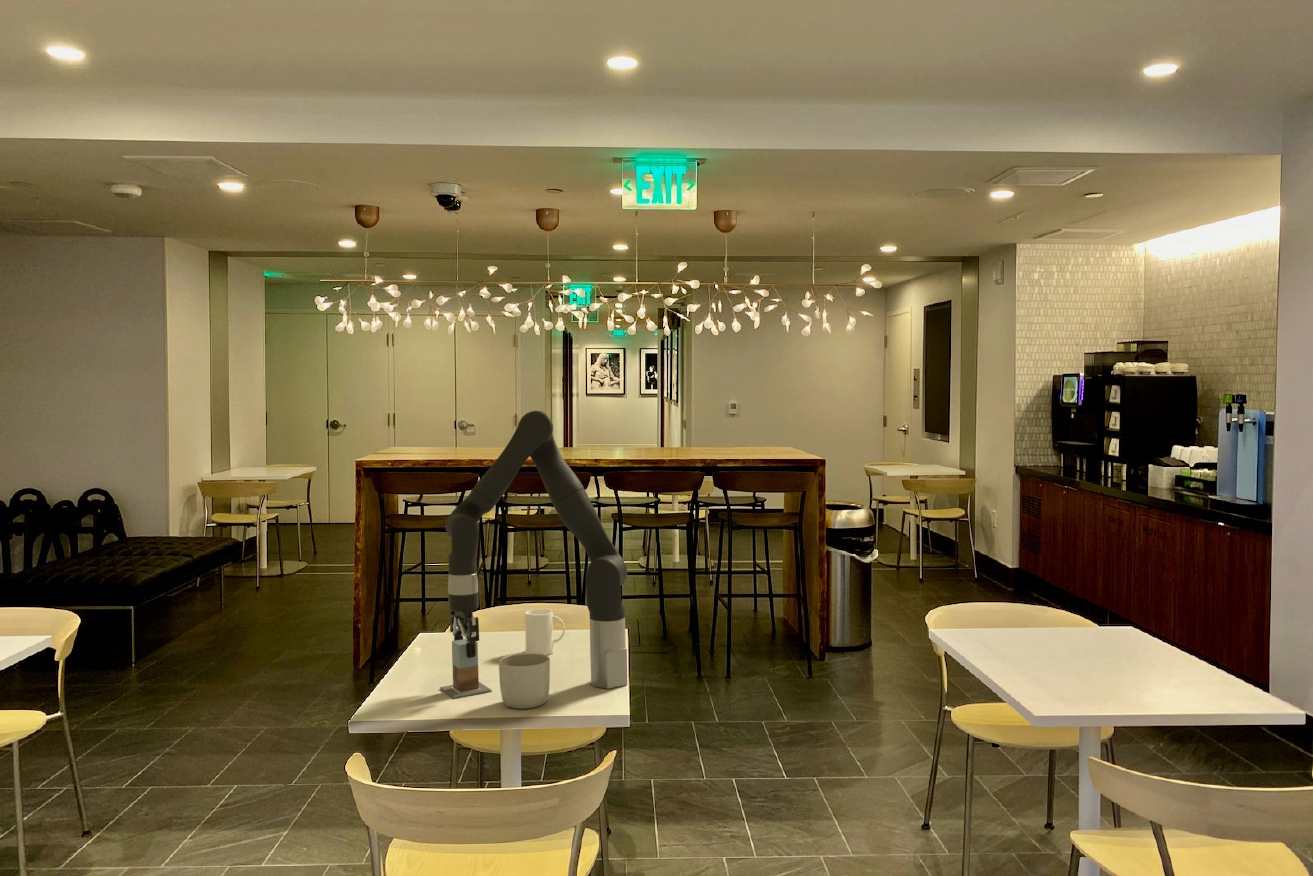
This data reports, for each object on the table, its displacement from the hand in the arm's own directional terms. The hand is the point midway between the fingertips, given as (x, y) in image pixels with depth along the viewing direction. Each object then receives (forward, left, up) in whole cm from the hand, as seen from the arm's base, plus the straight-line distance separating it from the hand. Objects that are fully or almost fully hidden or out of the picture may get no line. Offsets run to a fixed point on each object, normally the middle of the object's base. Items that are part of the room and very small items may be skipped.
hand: (464, 653), depth 243 cm
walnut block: (0, 0, -9) cm, 9 cm away
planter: (-19, -8, -10) cm, 23 cm away
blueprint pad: (0, 0, -9) cm, 9 cm away
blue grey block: (0, 0, -3) cm, 3 cm away
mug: (+22, -33, -10) cm, 41 cm away
